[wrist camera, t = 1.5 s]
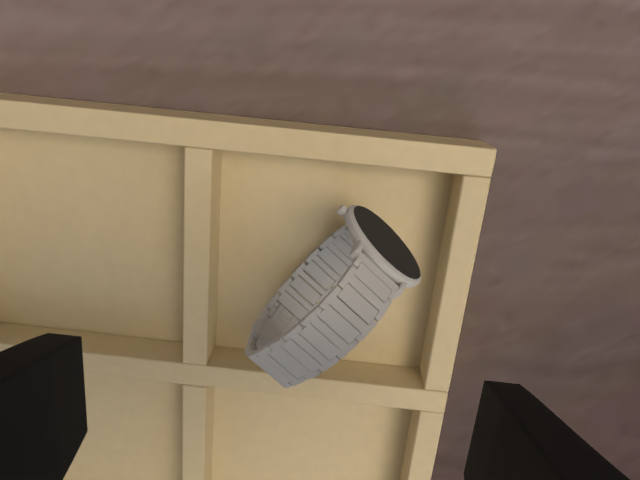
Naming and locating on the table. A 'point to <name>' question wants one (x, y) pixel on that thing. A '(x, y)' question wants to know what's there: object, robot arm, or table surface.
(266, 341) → the wristwatch
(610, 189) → the table surface
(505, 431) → the robot arm
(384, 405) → the four-compartment tray
